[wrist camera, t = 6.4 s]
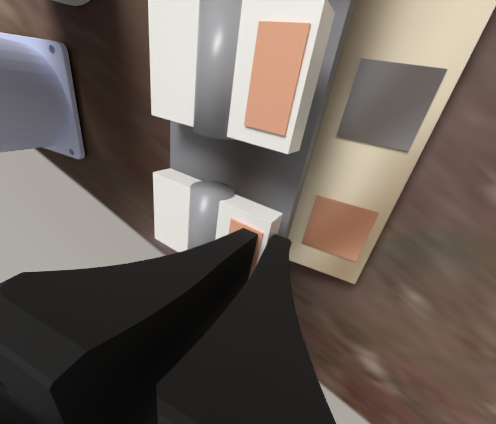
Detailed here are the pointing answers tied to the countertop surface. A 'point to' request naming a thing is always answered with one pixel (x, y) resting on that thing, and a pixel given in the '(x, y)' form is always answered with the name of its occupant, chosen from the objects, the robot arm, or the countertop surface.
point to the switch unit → (351, 128)
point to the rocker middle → (238, 66)
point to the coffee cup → (73, 2)
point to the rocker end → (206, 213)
